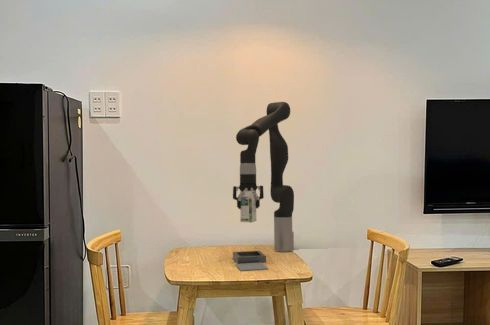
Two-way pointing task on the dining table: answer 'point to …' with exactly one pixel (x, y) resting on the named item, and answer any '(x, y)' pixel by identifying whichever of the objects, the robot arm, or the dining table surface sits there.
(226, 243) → the dining table surface
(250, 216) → the syrup box
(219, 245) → the dining table surface
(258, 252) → the holder
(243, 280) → the dining table surface
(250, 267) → the mat
